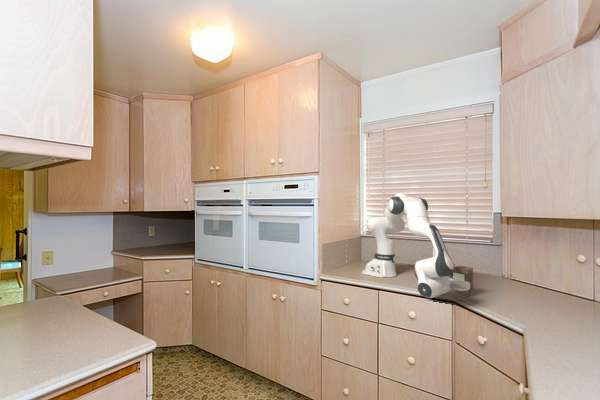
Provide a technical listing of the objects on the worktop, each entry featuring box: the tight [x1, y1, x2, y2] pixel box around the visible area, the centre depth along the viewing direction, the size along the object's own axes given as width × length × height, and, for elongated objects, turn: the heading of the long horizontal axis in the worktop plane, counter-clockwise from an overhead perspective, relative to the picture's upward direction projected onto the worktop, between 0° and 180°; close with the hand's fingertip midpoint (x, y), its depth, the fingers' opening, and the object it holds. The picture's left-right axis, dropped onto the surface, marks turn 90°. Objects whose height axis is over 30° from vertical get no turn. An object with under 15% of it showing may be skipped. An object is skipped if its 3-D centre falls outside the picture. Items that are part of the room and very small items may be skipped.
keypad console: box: [448, 263, 474, 297], centre depth 174 cm, size 24×6×15 cm, turn 37°
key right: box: [453, 272, 466, 281], centre depth 167 cm, size 6×4×6 cm
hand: (454, 280), depth 163 cm, fingers closed
